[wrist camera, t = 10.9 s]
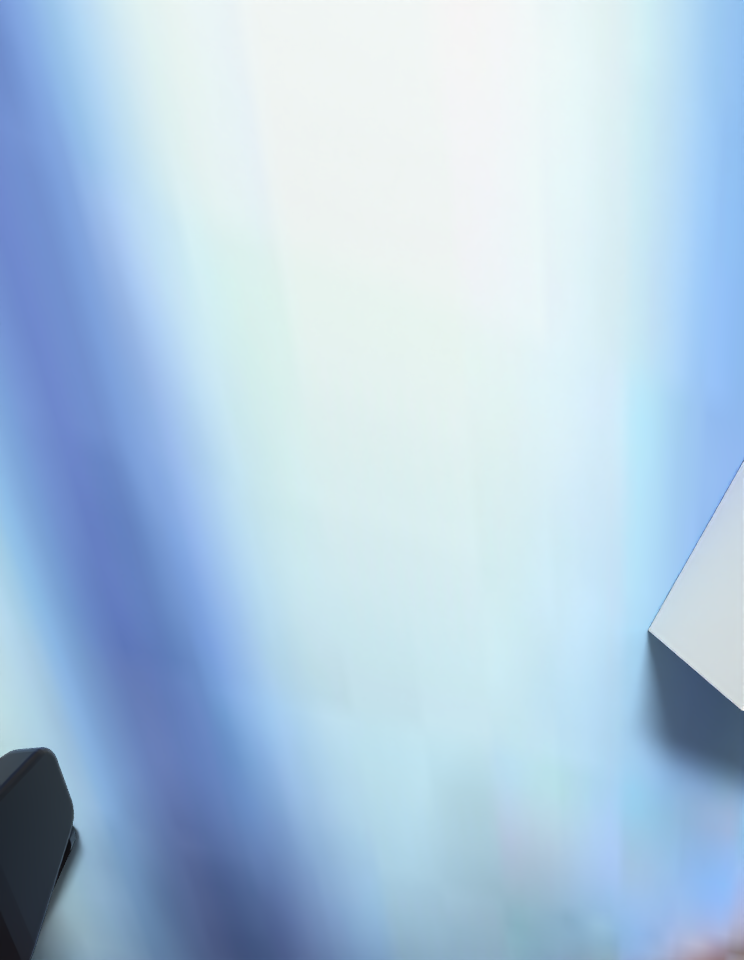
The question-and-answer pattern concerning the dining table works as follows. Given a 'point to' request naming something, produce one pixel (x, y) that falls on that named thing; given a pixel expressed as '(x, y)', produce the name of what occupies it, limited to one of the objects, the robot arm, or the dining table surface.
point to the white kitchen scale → (712, 600)
